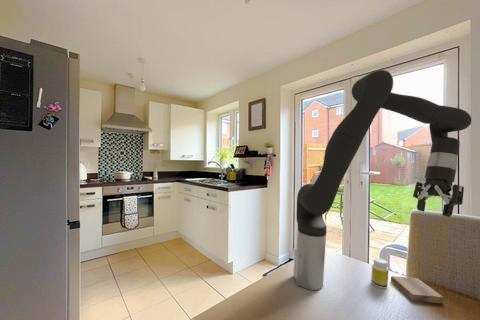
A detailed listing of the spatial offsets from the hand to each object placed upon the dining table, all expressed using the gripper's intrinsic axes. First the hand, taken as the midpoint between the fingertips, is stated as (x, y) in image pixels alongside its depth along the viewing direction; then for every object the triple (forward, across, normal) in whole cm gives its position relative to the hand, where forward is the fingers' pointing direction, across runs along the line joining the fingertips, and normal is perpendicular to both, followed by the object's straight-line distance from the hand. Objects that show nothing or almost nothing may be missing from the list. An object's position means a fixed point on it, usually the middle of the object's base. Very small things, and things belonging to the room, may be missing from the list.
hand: (432, 213), depth 72 cm
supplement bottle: (+28, -4, -11) cm, 31 cm away
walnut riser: (+27, 0, -2) cm, 27 cm away
